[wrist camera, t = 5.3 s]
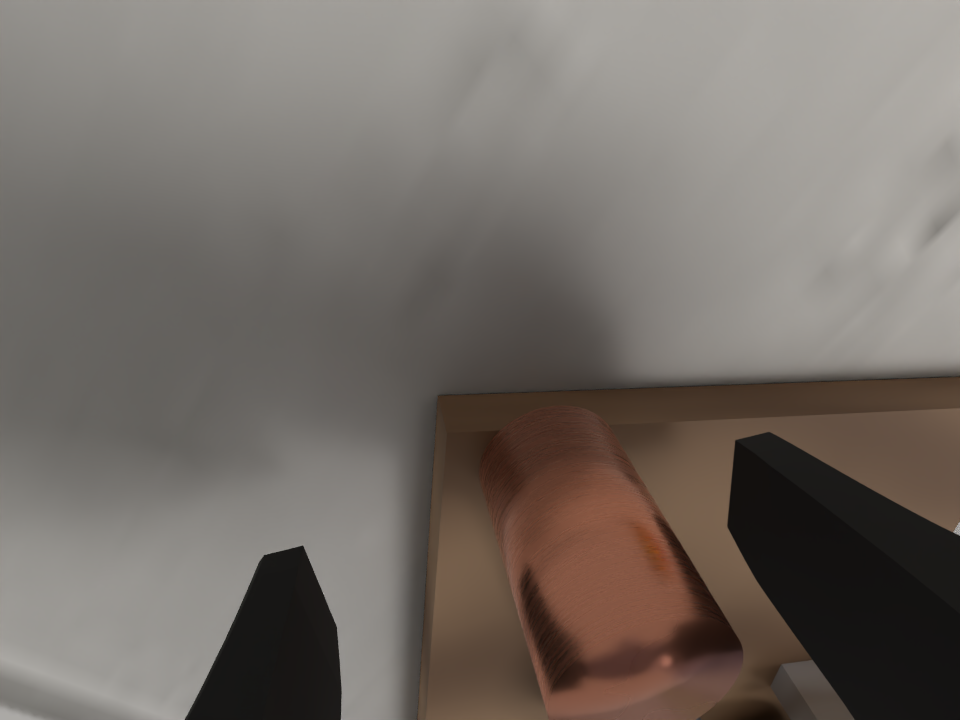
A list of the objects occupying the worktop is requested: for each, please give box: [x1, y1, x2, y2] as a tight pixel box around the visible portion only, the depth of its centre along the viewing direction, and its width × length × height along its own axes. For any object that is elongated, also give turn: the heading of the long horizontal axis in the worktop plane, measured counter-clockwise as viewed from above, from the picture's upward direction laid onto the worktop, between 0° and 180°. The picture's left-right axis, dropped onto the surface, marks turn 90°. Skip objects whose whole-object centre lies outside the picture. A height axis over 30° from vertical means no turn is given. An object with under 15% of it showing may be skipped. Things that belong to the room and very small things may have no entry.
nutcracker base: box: [417, 377, 960, 720], centre depth 16 cm, size 15×13×3 cm
